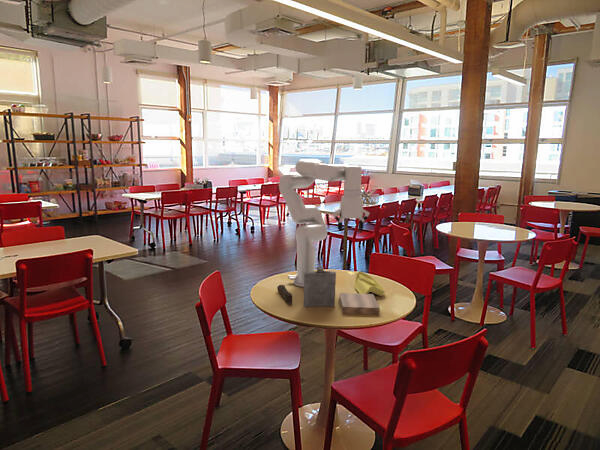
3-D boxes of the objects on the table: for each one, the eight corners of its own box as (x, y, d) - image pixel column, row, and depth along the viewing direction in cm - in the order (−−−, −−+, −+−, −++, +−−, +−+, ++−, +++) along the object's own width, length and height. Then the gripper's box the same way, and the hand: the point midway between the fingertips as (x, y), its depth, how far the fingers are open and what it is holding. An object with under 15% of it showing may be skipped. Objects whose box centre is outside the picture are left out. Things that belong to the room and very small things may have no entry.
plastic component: (386, 292, 201) (370, 284, 198) (379, 304, 202) (362, 297, 199) (372, 276, 220) (356, 269, 217) (365, 288, 221) (349, 281, 218)
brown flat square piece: (342, 313, 179) (342, 306, 179) (339, 299, 196) (339, 293, 195) (379, 314, 179) (379, 307, 179) (372, 299, 196) (373, 294, 195)
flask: (302, 304, 189) (303, 266, 185) (333, 303, 190) (335, 266, 187) (303, 307, 185) (305, 268, 182) (335, 306, 187) (336, 268, 183)
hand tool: (277, 292, 204) (277, 283, 203) (284, 291, 205) (285, 282, 204) (285, 306, 186) (285, 297, 185) (293, 306, 187) (294, 296, 186)
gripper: (367, 192, 190) (365, 228, 194) (331, 192, 187) (330, 229, 190) (373, 194, 183) (371, 231, 187) (336, 194, 180) (334, 232, 183)
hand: (350, 230), depth 188 cm, fingers open, 9 cm apart
